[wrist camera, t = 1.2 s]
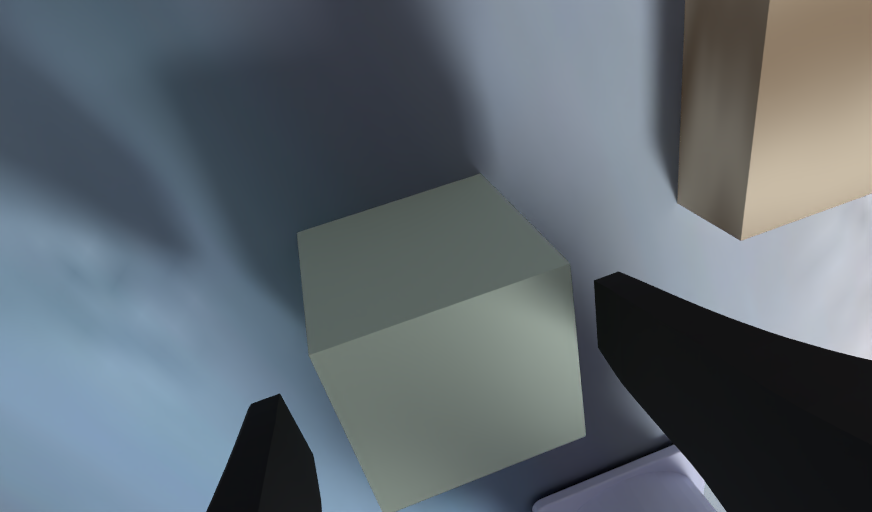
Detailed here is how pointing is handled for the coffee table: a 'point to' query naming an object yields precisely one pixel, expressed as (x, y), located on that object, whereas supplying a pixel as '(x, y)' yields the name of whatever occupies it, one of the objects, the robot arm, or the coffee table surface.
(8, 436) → the coffee table surface
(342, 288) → the sage cube
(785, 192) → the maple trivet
